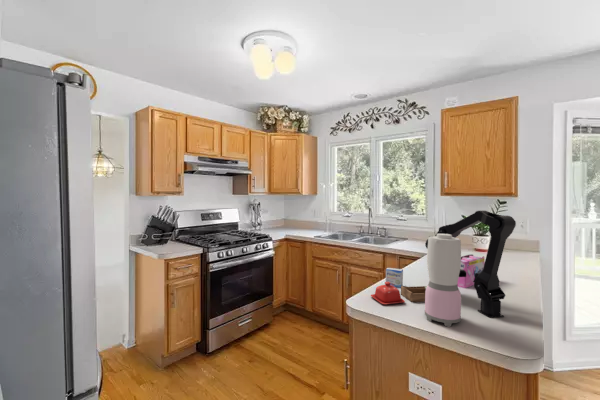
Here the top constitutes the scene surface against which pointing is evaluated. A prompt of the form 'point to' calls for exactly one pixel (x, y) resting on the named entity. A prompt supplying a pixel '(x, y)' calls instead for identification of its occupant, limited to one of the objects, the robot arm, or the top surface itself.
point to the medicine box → (394, 277)
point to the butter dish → (387, 294)
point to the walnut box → (414, 293)
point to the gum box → (470, 269)
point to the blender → (443, 279)
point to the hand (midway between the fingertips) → (446, 287)
